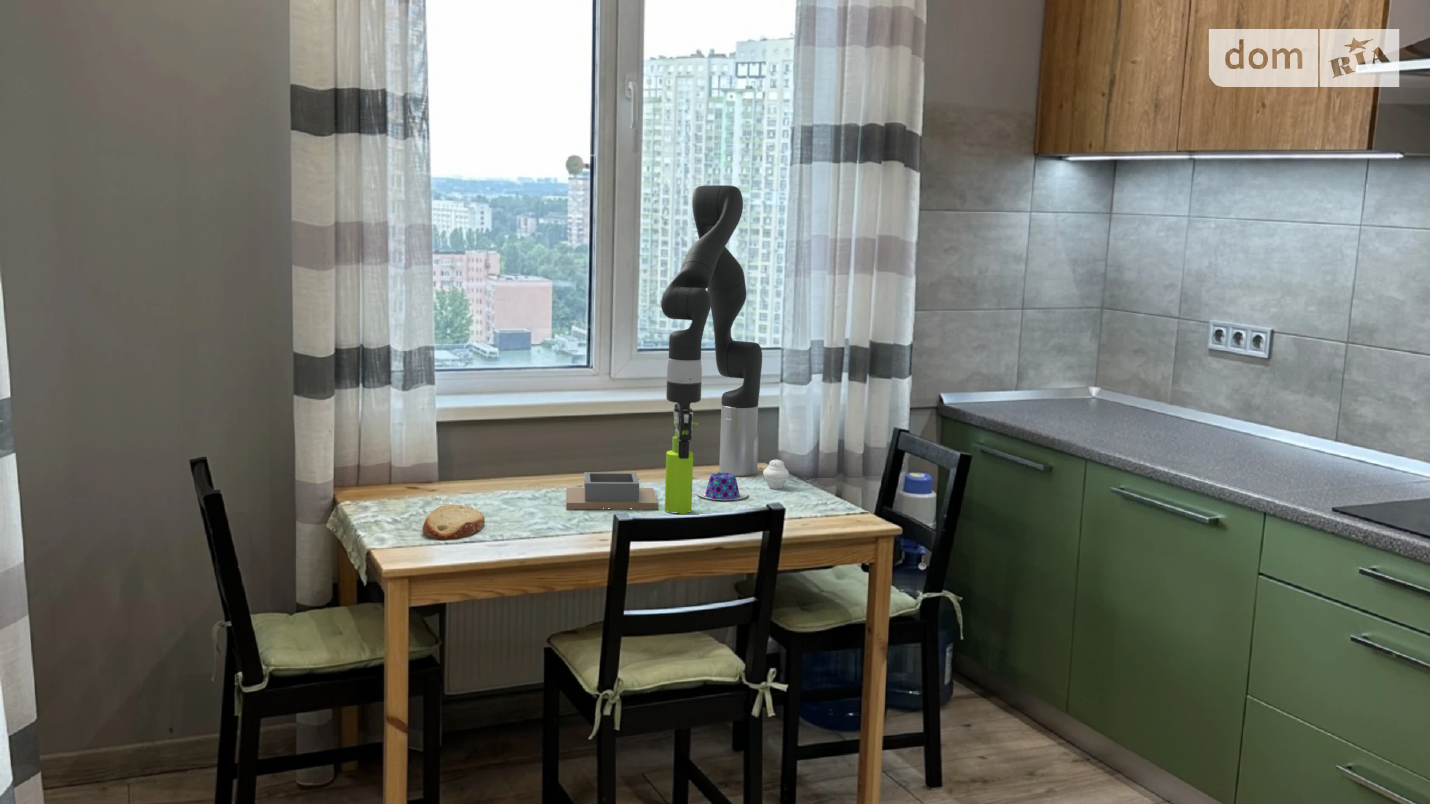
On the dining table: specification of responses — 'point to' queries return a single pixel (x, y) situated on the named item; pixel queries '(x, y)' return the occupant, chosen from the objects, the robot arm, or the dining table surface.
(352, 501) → the dining table surface
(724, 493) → the pudding
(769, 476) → the white lidded jar
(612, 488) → the soap caddy
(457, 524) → the bread slice
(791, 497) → the dining table surface
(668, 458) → the soap dispenser
